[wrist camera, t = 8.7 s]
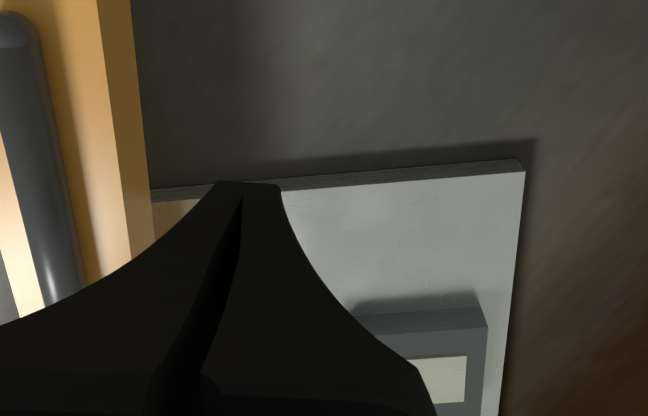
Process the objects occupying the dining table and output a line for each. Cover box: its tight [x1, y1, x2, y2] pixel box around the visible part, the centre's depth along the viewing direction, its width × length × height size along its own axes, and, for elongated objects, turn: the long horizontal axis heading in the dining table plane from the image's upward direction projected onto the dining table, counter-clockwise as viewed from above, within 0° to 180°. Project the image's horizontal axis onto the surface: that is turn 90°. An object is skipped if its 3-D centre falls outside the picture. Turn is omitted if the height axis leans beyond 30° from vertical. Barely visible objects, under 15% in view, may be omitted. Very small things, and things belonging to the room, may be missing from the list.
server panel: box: [150, 158, 526, 416], centre depth 25 cm, size 18×18×3 cm
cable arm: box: [0, 0, 155, 318], centre depth 18 cm, size 20×4×4 cm, turn 176°
